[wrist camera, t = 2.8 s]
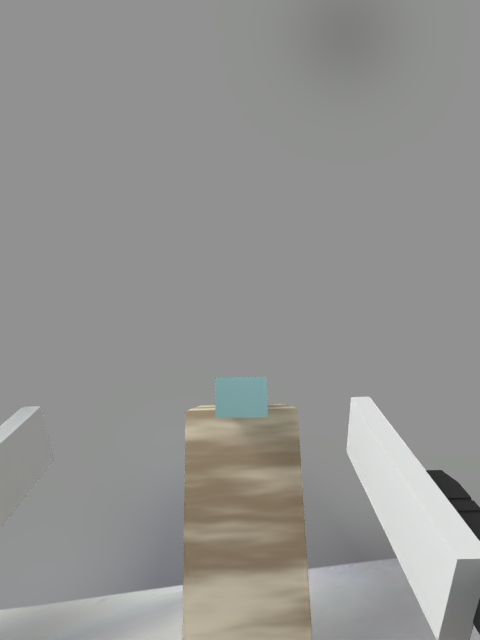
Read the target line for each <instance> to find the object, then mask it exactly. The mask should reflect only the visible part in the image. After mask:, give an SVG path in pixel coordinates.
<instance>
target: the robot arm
mask: <svg viewBox="0 0 480 640" xmlns="http://www.w3.org/2000/svg"><path fill="white" fill-rule="evenodd" d="M347 454H348V456H349V457H350V460H351V462H352V464H353V466H354V468H355V470H356V472H357V475H358V476H359V478H360V481H361V483H362V485H363V487H364V489H365V491H366V493H367V495H368V498H369V500H370V502H371V504H372V506H373V508H374V510H375V512H376V514H377V516H378V518H379V520H380V523H381V525H382V527H383V529H384V531H385V533H386V535H387V537H388V539H389V541H390V544H391V546H392V548H393V550H394V552H395V554H396V556H397V558H398V560H399V562H400V564H401V567H402V569H403V571H404V573H405V575H406V577H407V579H408V581H409V583H410V585H411V588H412V590H413V592H414V594H415V596H416V598H417V600H418V602H419V604H420V606H421V608H422V611H423V613H424V615H425V617H426V619H427V621H428V623H429V625H430V627H431V629H432V631H433V634H434V636H435V638H436V640H470V636H471V633H472V629H473V626H475V627H476V629H477V631H478V632H479V634H480V507H479V506H478V505H477V504H476V503H475V502H474V501H472V500H471V497H470V496H469V495H468V493H467V492H466V491H465V490H464V489H463V488H462V486H461V485H460V484H459V483H458V482H457V481H455V480H454V479H453V478H451V477H450V476H449V475H447V474H446V473H444V472H443V471H442V470H430V471H426V470H425V469H424V468H423V467H422V465H421V464H420V463H419V461H418V460H417V459H416V457H415V456H414V455H413V453H412V452H411V451H410V449H409V448H408V447H407V445H406V444H405V443H404V441H403V440H402V439H401V438H400V436H399V435H398V434H397V432H396V431H395V430H394V428H393V427H392V426H391V424H390V423H389V422H388V421H387V419H386V418H385V417H384V415H383V414H382V413H381V412H380V410H379V409H378V407H377V406H376V405H375V404H374V402H373V401H372V400H371V398H370V397H351V405H350V416H349V428H348V440H347ZM53 461H54V457H53V453H52V449H51V445H50V441H49V437H48V433H47V429H46V426H45V421H44V417H43V413H42V409H41V407H40V406H38V407H22V408H21V409H20V410H19V411H17V412H16V413H15V414H14V415H13V416H11V417H10V418H9V419H8V420H7V421H6V422H4V423H3V424H2V425H1V426H0V529H1V527H2V526H3V525H4V523H5V522H6V521H7V520H8V518H9V517H10V516H11V515H12V513H13V512H14V511H15V509H16V508H17V507H18V506H19V504H20V503H21V502H22V501H23V499H24V498H25V497H26V495H27V494H28V493H29V491H30V490H31V489H32V488H33V486H34V485H35V483H37V481H38V480H39V479H40V478H41V476H42V475H43V474H44V472H45V471H46V470H47V468H48V467H49V466H50V465H51V463H52V462H53Z"/></svg>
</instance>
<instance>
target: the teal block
mask: <svg viewBox="0 0 480 640" xmlns="http://www.w3.org/2000/svg"><path fill="white" fill-rule="evenodd" d="M248 417H268V405H267V383H266V377H242V378H215V418H248Z"/></svg>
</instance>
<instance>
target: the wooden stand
mask: <svg viewBox="0 0 480 640" xmlns="http://www.w3.org/2000/svg"><path fill="white" fill-rule="evenodd" d="M267 405H268V417H248V418H215V405H209V406H198V407H195V408H193V409H190V410H187V411H186V418H185V494H184V569H183V574H184V575H183V640H312V630H311V614H310V599H309V583H308V567H307V554H306V536H305V522H304V521H305V520H304V506H303V489H302V473H301V458H300V443H299V426H298V410H297V408H295V407H292V406H289V405H286V404H267Z"/></svg>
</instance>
